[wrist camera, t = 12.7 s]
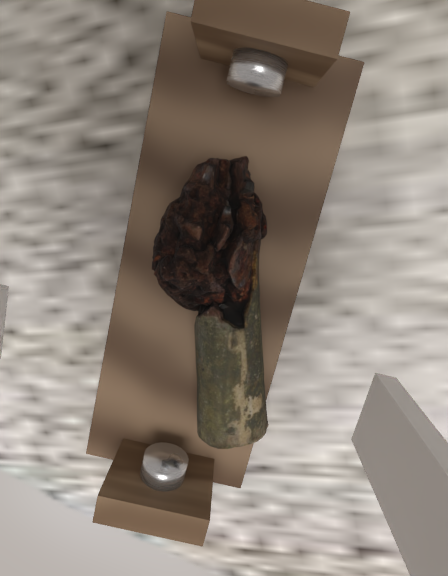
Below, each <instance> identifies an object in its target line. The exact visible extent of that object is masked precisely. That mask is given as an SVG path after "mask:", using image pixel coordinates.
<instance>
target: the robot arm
mask: <svg viewBox="0 0 448 576" xmlns="http://www.w3.org/2000/svg"><path fill="white" fill-rule="evenodd" d="M8 289H9V286H5V285H1V284H0V359H1V352H2V343H3V334H4V325H5V316H6V307H7V298H8ZM351 440H352V442H353V444H354V446H355V449H356V451H357V453H358V456H359V458H360V460H361V463H362V465H363V467H364V470H365V472H366V474H367V477H368V479H369V481H370V483H371V486H372V488H373V490H374V493H375V495H376V497H377V500H378V502H379V504H380V507H381V509H382V511H383V514H384V516H385V518H386V520H387V523H388V525H389V527H390V530H391V532H392V534H393V537H394V539H395V541H396V544H397V546H398V548H399V551H400V553H401V555H402V557H403V560H404V562H405V564H406V567H407V569H408V571H409V574H410V576H448V443H447V441H446V440H445V439H444V438H443V436H442V435H441V434H440V433H439V431H438V430H437V429H436V428H435V426H434V425H433V424H432V422H431V421H430V420H429V419H428V417H427V416H426V415H425V414H424V412H423V411H422V410H421V409H420V407H419V406H418V405H417V403H416V402H415V401H414V400H413V398H412V397H411V396H410V395H409V393H408V392H407V391H406V390H405V388H404V387H403V386H402V384H401V383H400V382H399V381H398V379H397V378H395V377H390V376H386V375H382V374H378V373H375V376H374V378H373V381H372V384H371V387H370V389H369V392H368V395H367V398H366V400H365V403H364V406H363V409H362V412H361V414H360V417H359V420H358V423H357V425H356V428H355V431H354V434H353V436H352V439H351Z"/></svg>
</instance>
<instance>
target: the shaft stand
mask: <svg viewBox="0 0 448 576" xmlns="http://www.w3.org/2000/svg"><path fill="white" fill-rule="evenodd" d="M349 15H350V12H349V11H345V10H341V9H338V8H334V7H330V6H326V5H322V4H318V3H315V2H311V1H307V0H195V1H194V6H193V11H192V16H191V17H187V16H183V15H179V14H176V13H172V12H168V11H167V13H166V18H165V24H164V29H163V34H162V40H161V45H160V51H159V56H158V62H157V67H156V73H155V78H154V84H153V89H152V95H151V100H150V106H149V111H148V117H147V122H146V128H145V133H144V139H143V144H142V150H141V155H140V161H139V166H138V172H137V177H136V183H135V188H134V193H133V199H132V204H131V210H130V215H129V221H128V226H127V232H126V237H125V243H124V248H123V254H122V259H121V265H120V270H119V276H118V281H117V287H116V292H115V298H114V303H113V309H112V314H111V320H110V325H109V331H108V336H107V342H106V347H105V352H104V358H103V363H102V369H101V374H100V380H99V385H98V391H97V396H96V402H95V407H94V413H93V418H92V424H91V429H90V435H89V440H88V446H87V451H86V454H90V455H95V456H99V457H103V458H108V459H112V460H113V462H112V465H111V467H110V469H109V471H108V474H107V476H106V478H105V480H104V483H103V485H102V487H101V489H100V492H99V494H98V497H97V502H96V507H95V512H94V517H93V523H98V524H103V525H107V526H112V527H116V528H121V529H125V530H130V531H134V532H139V533H144V534H148V535H153V536H157V537H162V538H166V539H171V540H175V541H180V542H185V543H189V544H194V545H198V546H203V543H204V539H205V536H206V532H207V529H208V525H209V521H210V511H211V498H212V485H213V482H215V483H219V484H224V485H228V486H233V487H237V488H241V485H242V481H243V478H244V474H245V471H246V467H247V464H248V461H249V457H250V454H251V450H252V447H253V443H252V444H249V445H245V446H242V447H234V448H231V449H217V448H214V447H211V446H209V445H208V444H206V443H205V442H204V441H202V440H201V439H200V438H199V436H198V433H197V373H196V352H195V332H194V324H195V320H196V316H197V315H198V311H192V310H188V309H185V308H183V307H182V306H180V305H179V304H177V303H176V302H175V301H174V300H173V299H172V298H171V297H169V296H168V295H167V294H166V293H165V291H164V290H163V289H162V288H161V287H160V285H159V284H158V280H157V278H156V276H155V275H154V272H155V271H154V270H152V261H153V258H152V257H153V246H154V239H155V237H156V235H157V233H158V232H159V229H160V221H161V218H162V216H163V215H164V213H165V211H166V208H167V207H168V205H169V203H171V202H172V201H174V200H175V199H178V198H179V197H180V195H181V191H182V188H183V186H184V184H185V183H186V182H187V181H188V179H189V178H190V176H191V174H192V172H193V169H194V168H195V167H196V166H197V165H198V164H201V163H203V162H205V161H207V160H208V159H209V158H218V159H227V160H232V159H234V158H240V157H244V156H247V157H248V159H249V164H248V170H249V172H250V174H251V175H250V177H251V180H252V181H253V182H254V192H255V193H256V194H257V195H258V196H259V199H260V201H261V202H262V208H263V213H264V215H265V216H266V220H267V235H266V236H265V237H264V238H263V239H261V246H260V253H259V285H260V312H261V330H262V347H263V362H264V384H265V396H266V399H267V395H268V392H269V388H270V385H271V382H272V378H273V375H274V371H275V368H276V364H277V361H278V358H279V354H280V351H281V347H282V344H283V340H284V337H285V333H286V330H287V327H288V323H289V320H290V316H291V313H292V309H293V306H294V303H295V299H296V296H297V292H298V289H299V285H300V282H301V278H302V275H303V272H304V268H305V265H306V261H307V258H308V254H309V251H310V248H311V244H312V241H313V237H314V234H315V230H316V227H317V223H318V220H319V217H320V213H321V210H322V206H323V203H324V199H325V196H326V193H327V189H328V186H329V182H330V179H331V175H332V172H333V169H334V165H335V162H336V158H337V155H338V151H339V148H340V144H341V141H342V138H343V134H344V131H345V127H346V124H347V120H348V117H349V114H350V110H351V107H352V103H353V100H354V96H355V93H356V89H357V86H358V83H359V79H360V76H361V72H362V69H363V65H364V62H362V61H358V60H354V59H350V58H346V57H342V56H338V54H339V51H340V47H341V44H342V40H343V36H344V33H345V29H346V26H347V22H348V18H349Z"/></svg>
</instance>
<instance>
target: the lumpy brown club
mask: <svg viewBox="0 0 448 576" xmlns="http://www.w3.org/2000/svg"><path fill="white" fill-rule="evenodd" d="M248 164H249V159H248V157H247V156H244V157H240V158H234V159H232V160H227V159H218V158H209V159H208V160H207V161H205V162H203V163H201V164H198V165H197V166H196V167H195V168H194V169H193V172H192V174H191V176H190V178H189V179H188V181H187V182H186V183H185V184H184V186H183V188H182V191H181V195H180V197H179V198H178V199H175V200H174V201H172V202H171V203H169V205H168V207H167V208H166V211H165V213H164V215H163V216H162V218H161V221H160V229H159V232H158V233H157V235H156V237H155V239H154V246H153V257H152V258H153V261H152V270H154V271H155V272H154V275H155V276H156V278H157V280H158V284H159V285H160V287H161V288H162V289H163V290H164V291H165V293H166V294H167V295H168V296H169V297H171V298H172V299H173V300H174V301H175V302H176V303H177V304H179V305H180V306H182V307H183V308H185V309H188V310H192V311H198V315H197V316H196V320H195V324H194V332H195V352H196V373H197V433H198V436H199V438H200V439H201V440H202V441H204V442H205V443H206V444H208V445H209V446H211V447H214V448H217V449H231V448H234V447H242V446H245V445H249V444H252V443H255V442H257V441H258V440H260V439H261V438H262V437H263V436H264V434H265V433H266V429H267V427H268V421H267V411H266V396H265V384H264V362H263V347H262V330H261V312H260V285H259V253H260V246H261V239H263V238H264V237H265V236H266V235H267V220H266V216H265V215H264V213H263V208H262V202H261V201H260V199H259V196H258V195H257V194H256V193H255V192H254V182H253V181H252V180H251V177H250V175H251V174H250V172H249V170H248Z"/></svg>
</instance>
